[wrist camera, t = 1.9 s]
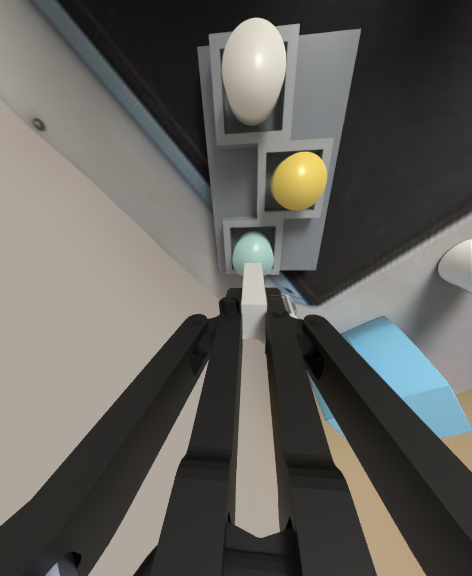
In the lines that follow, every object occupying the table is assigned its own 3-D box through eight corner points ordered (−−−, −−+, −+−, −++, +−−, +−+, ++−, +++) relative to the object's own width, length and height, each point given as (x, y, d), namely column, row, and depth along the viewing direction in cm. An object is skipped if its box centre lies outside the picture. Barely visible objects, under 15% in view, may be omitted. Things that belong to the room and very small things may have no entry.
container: (375, 296, 31) (468, 381, 18) (420, 373, 40) (506, 470, 26) (288, 339, 38) (308, 426, 24) (343, 398, 46) (381, 486, 33)
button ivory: (226, 58, 15) (219, 22, 12) (280, 52, 15) (289, 13, 11) (229, 127, 17) (224, 114, 14) (276, 124, 17) (283, 109, 14)
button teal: (234, 231, 22) (231, 240, 19) (271, 230, 22) (275, 239, 18) (235, 265, 24) (233, 279, 21) (269, 265, 24) (272, 279, 20)
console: (204, 65, 19) (189, 26, 14) (345, 50, 18) (379, 3, 13) (221, 263, 30) (215, 278, 25) (309, 262, 29) (321, 277, 24)
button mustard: (271, 158, 18) (275, 153, 15) (316, 156, 18) (332, 149, 15) (268, 206, 21) (272, 211, 17) (309, 205, 20) (321, 209, 17)
